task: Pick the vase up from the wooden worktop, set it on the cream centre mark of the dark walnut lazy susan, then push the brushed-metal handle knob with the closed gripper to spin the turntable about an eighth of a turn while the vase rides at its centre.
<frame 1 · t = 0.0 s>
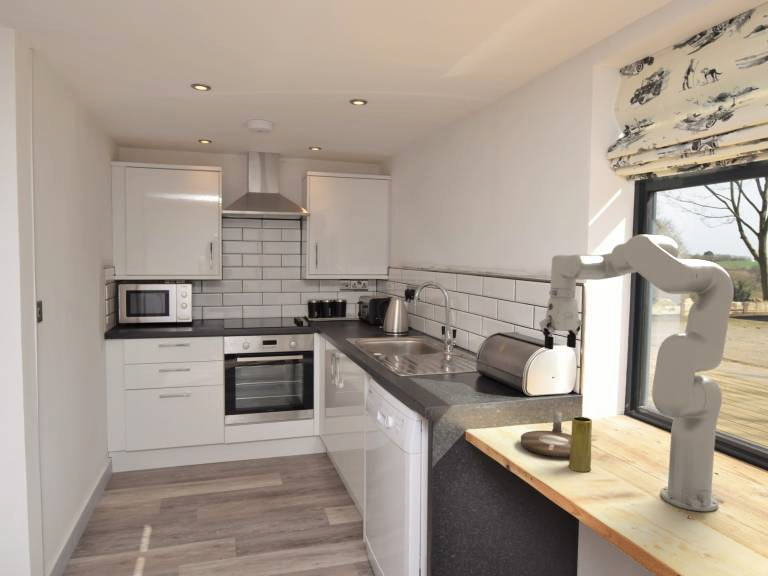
hand: (560, 348, 177), 31 cm above the worktop, tool pointing down, fingers open, 9 cm apart
vase: (579, 469, 158), on the worktop
turntable: (553, 432, 175), point 5 cm above the worktop, hinge at 0.0°
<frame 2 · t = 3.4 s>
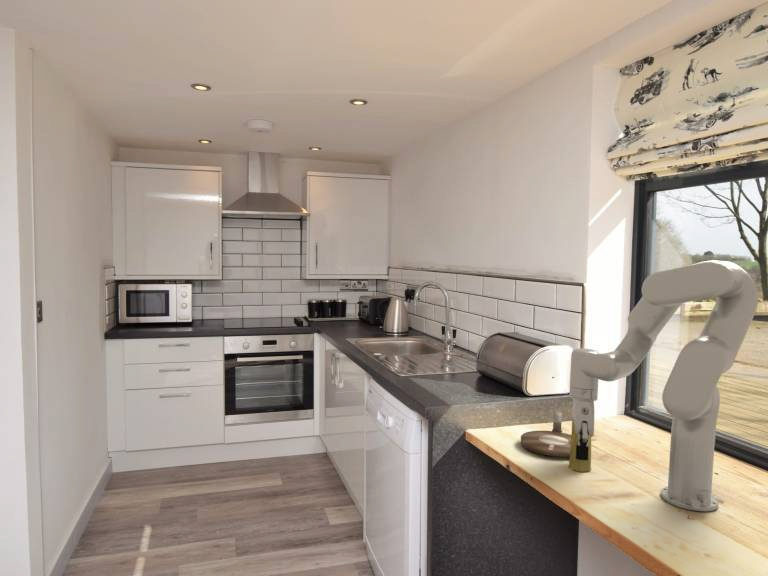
hand: (580, 455, 158), 4 cm above the worktop, tool pointing down, fingers closed on vase, 5 cm apart
vase: (579, 469, 158), on the worktop, touching gripper
everything else where it was.
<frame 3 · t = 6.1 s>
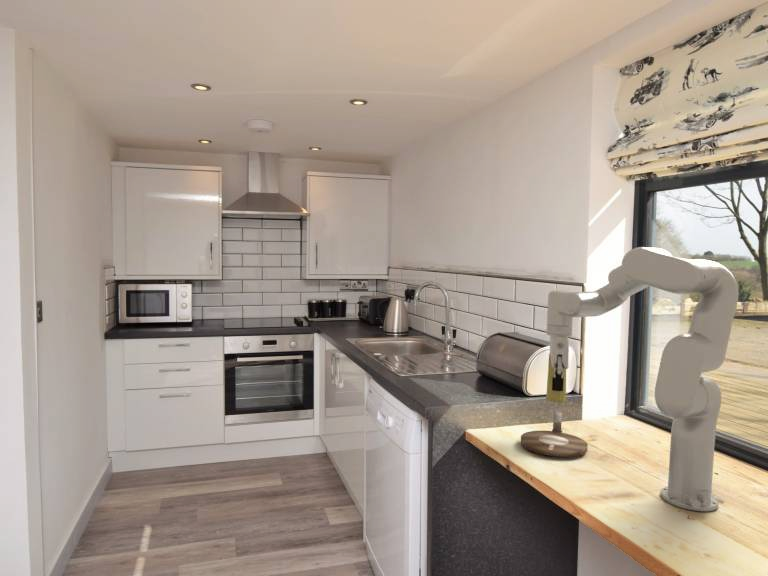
hand: (556, 387, 173), 19 cm above the worktop, tool pointing down, fingers closed on vase, 5 cm apart
vase: (555, 400, 173), point 15 cm above the worktop, touching gripper
everything else where it was.
when the fingers open (7 cm above the worktop, at t = 8.7 s): vase stays where it is, resting on turntable.
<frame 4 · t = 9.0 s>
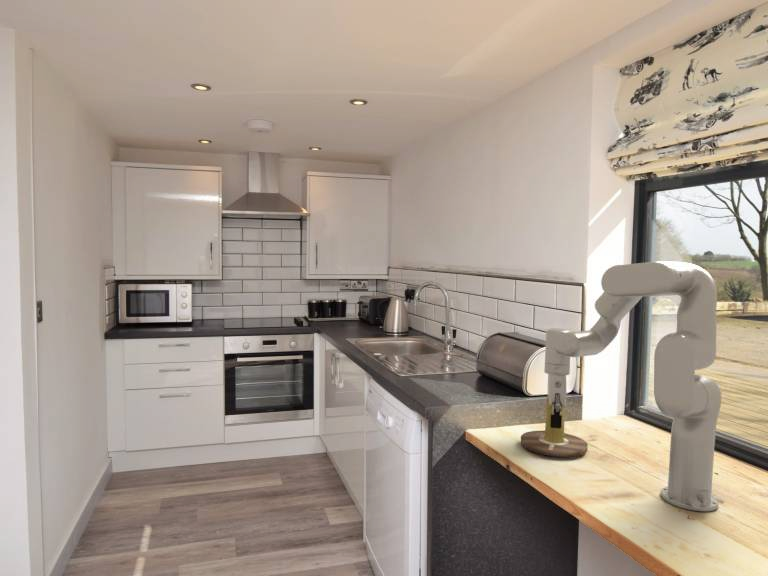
hand: (554, 423, 174), 8 cm above the worktop, tool pointing down, fingers open, 8 cm apart
vase: (554, 440, 174), point 3 cm above the worktop, touching turntable
turntable: (553, 432, 175), point 5 cm above the worktop, hinge at 0.0°, touching vase
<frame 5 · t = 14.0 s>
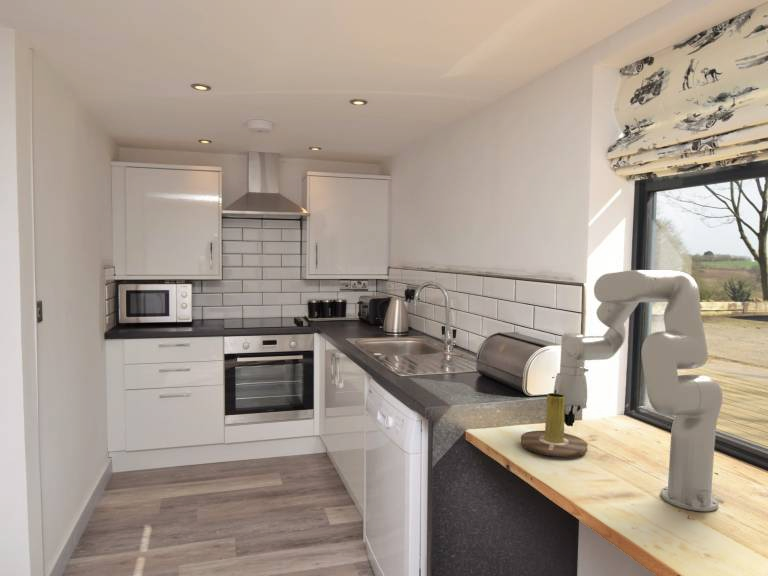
hand: (568, 424, 185), 4 cm above the worktop, tool pointing down, fingers closed
turntable: (553, 432, 175), point 5 cm above the worktop, hinge at 0.0°, touching gripper, vase
everything else where it was.
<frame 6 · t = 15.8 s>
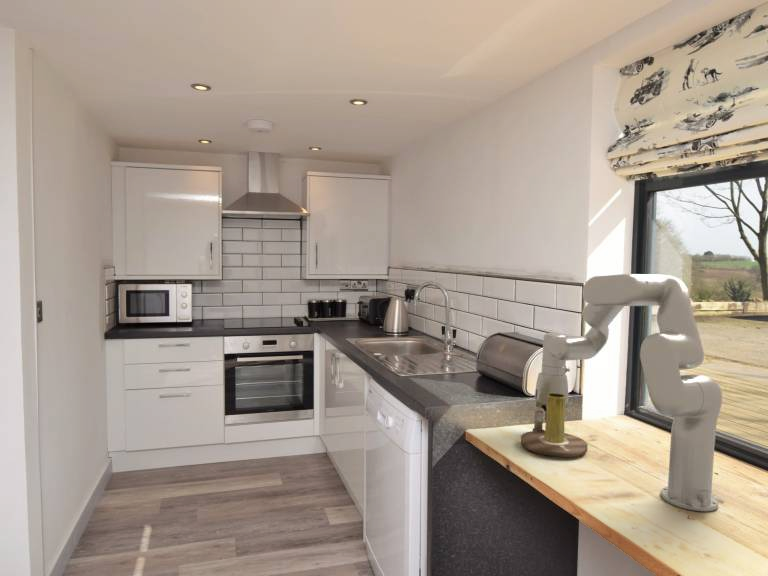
hand: (549, 424, 186), 4 cm above the worktop, tool pointing down, fingers closed
turntable: (551, 432, 175), point 5 cm above the worktop, hinge at 30.8°, touching gripper, vase
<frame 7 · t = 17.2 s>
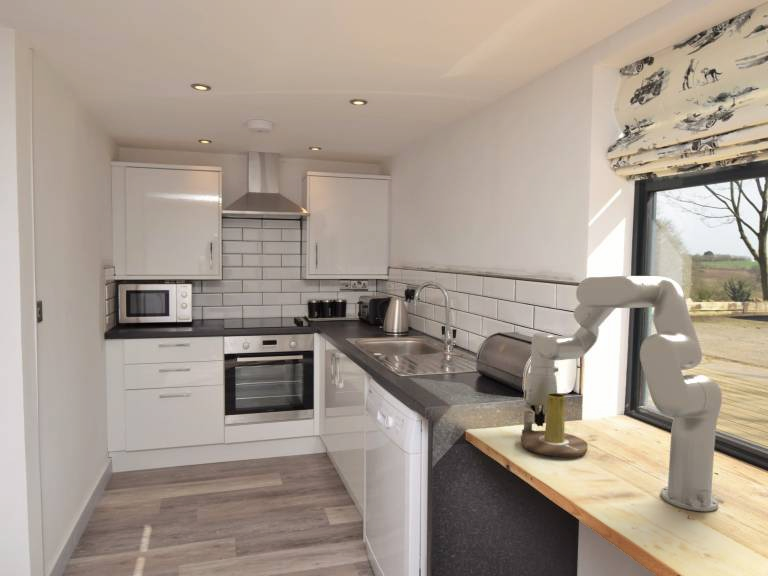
hand: (539, 425, 185), 4 cm above the worktop, tool pointing down, fingers closed
turntable: (550, 432, 175), point 5 cm above the worktop, hinge at 50.9°, touching gripper, vase
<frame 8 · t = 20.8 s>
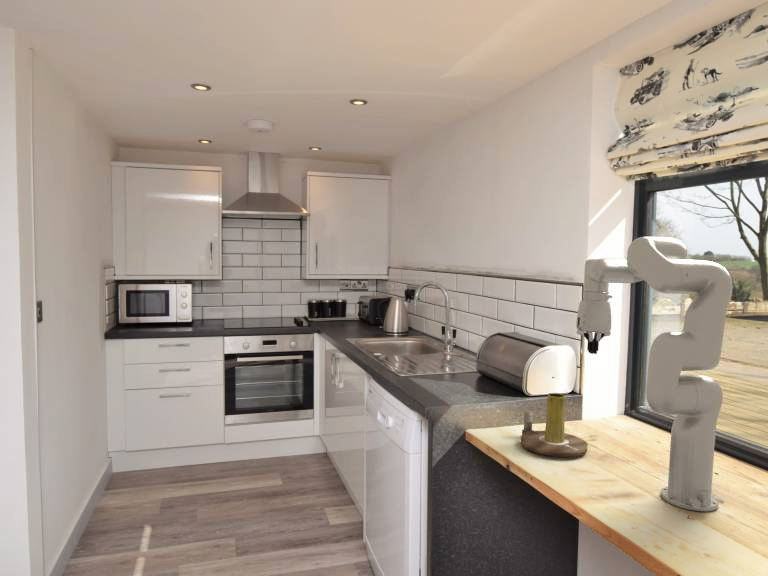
hand: (592, 353, 182), 29 cm above the worktop, tool pointing down, fingers closed
turntable: (550, 432, 175), point 5 cm above the worktop, hinge at 51.0°, touching vase
at the end: vase 0.2 cm from the turntable (horizontally); vase tilted 0°; turntable at +51° (first picture: +0°) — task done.
